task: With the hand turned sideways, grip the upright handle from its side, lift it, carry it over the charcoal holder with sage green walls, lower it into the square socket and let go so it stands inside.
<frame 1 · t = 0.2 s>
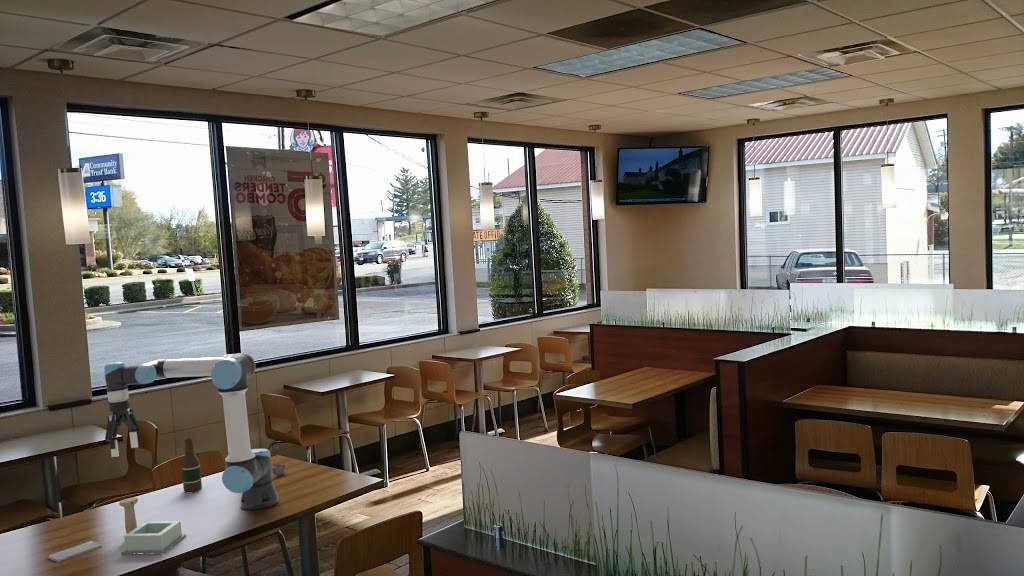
hand: (125, 452, 326), 28 cm above the table, tool pointing down, fingers open, 13 cm apart
beer bottle: (193, 490, 361), on the table
handle: (132, 539, 305), on the table
phone: (75, 554, 295), on the table
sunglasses: (264, 476, 379), on the table
holder: (154, 545, 297), on the table
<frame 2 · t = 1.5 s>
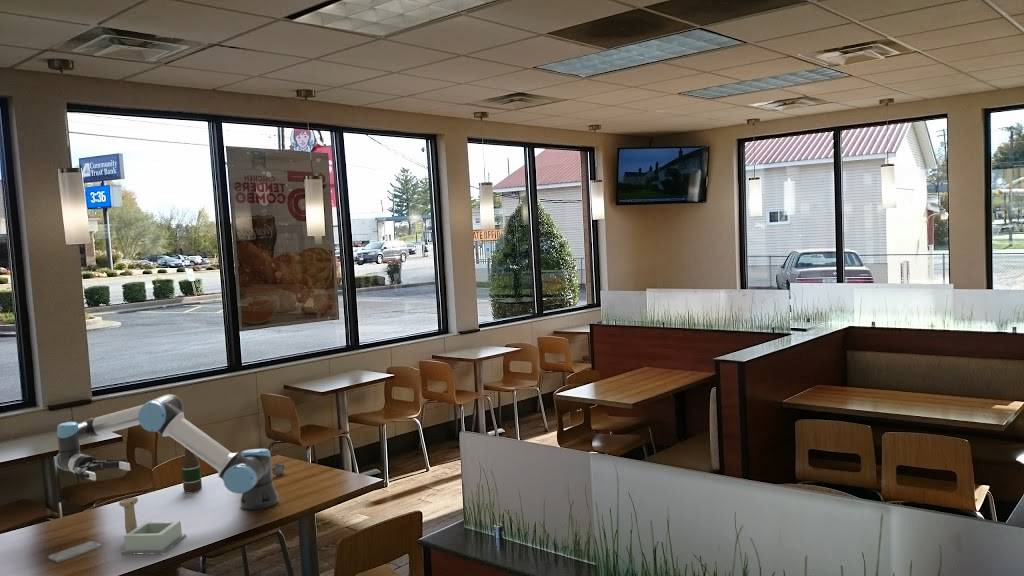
hand: (112, 471, 309), 25 cm above the table, tool horizontal, fingers open, 13 cm apart
nothing on the table moved.
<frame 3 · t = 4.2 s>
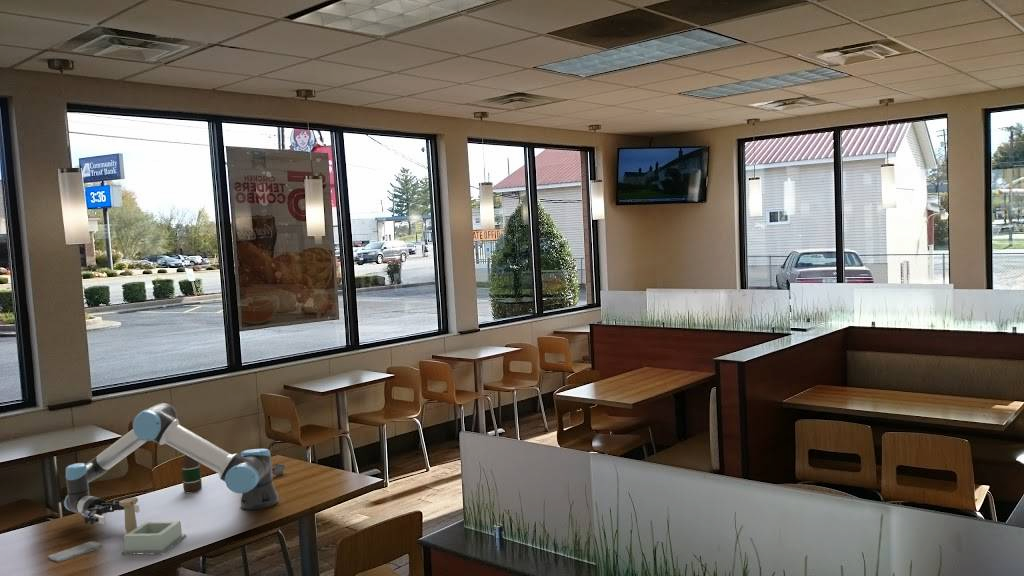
hand: (121, 514, 307), 9 cm above the table, tool horizontal, fingers open, 13 cm apart
nothing on the table moved.
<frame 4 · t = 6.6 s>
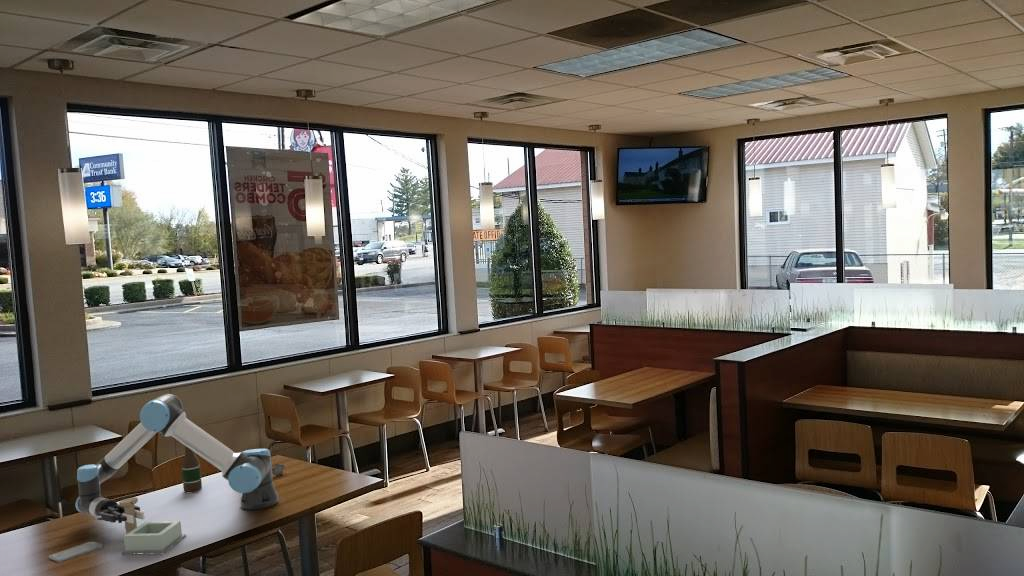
hand: (138, 517, 302), 9 cm above the table, tool horizontal, fingers closed on handle, 4 cm apart
handle: (132, 539, 305), on the table, touching gripper
everything else where it was.
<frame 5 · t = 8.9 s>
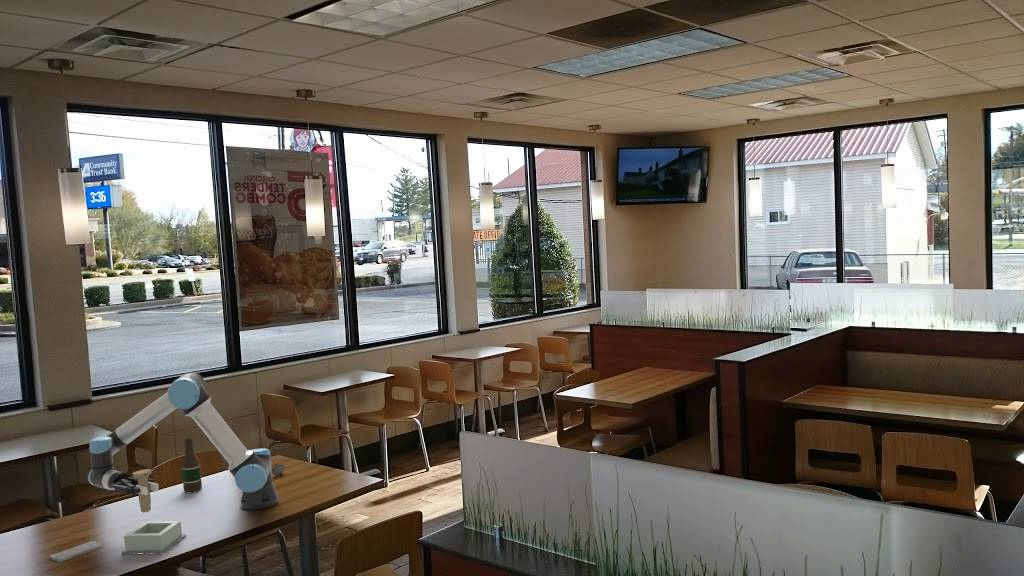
hand: (152, 489, 293), 22 cm above the table, tool horizontal, fingers closed on handle, 4 cm apart
handle: (146, 511, 297), point 12 cm above the table, touching gripper
everything else where it was.
when the fingers open (12 cm above the table, at t = 11.3 s): handle drops 2 cm, resting on holder.
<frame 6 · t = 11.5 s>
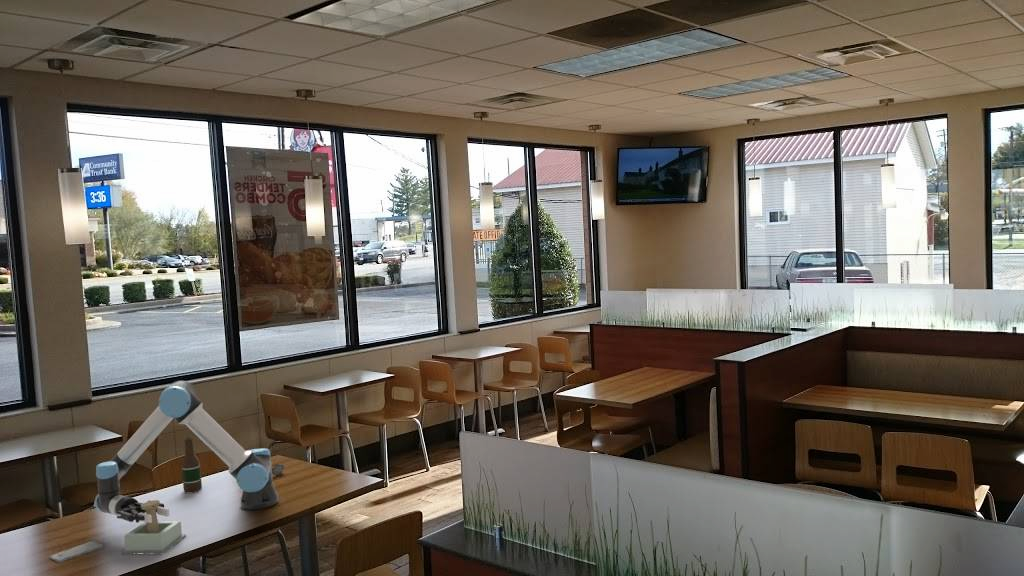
hand: (159, 515, 293), 12 cm above the table, tool horizontal, fingers open, 6 cm apart
handle: (154, 543, 297), point 1 cm above the table, touching holder
everything else where it was.
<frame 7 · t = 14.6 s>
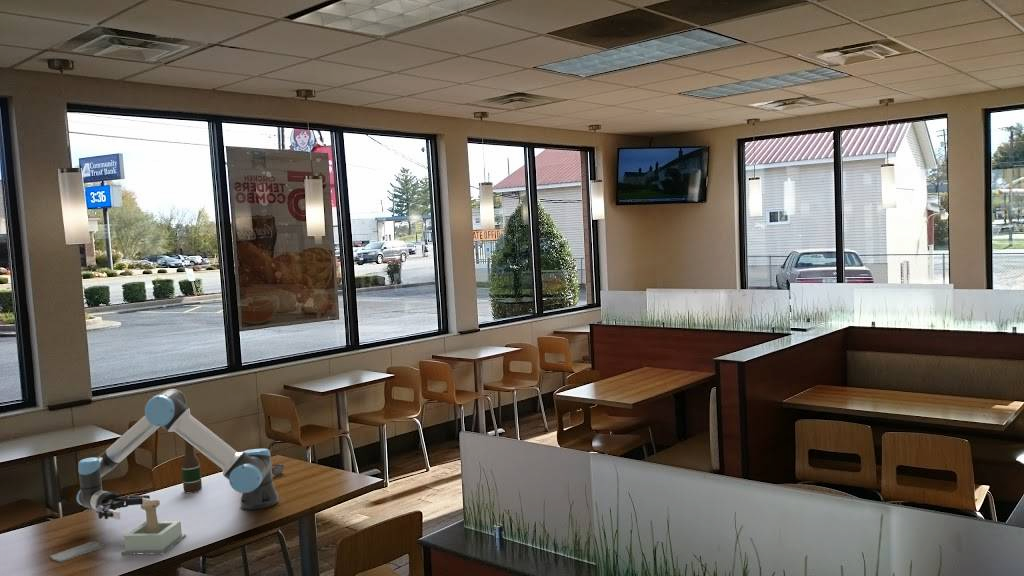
hand: (136, 509, 301), 12 cm above the table, tool horizontal, fingers open, 13 cm apart
nothing on the table moved.
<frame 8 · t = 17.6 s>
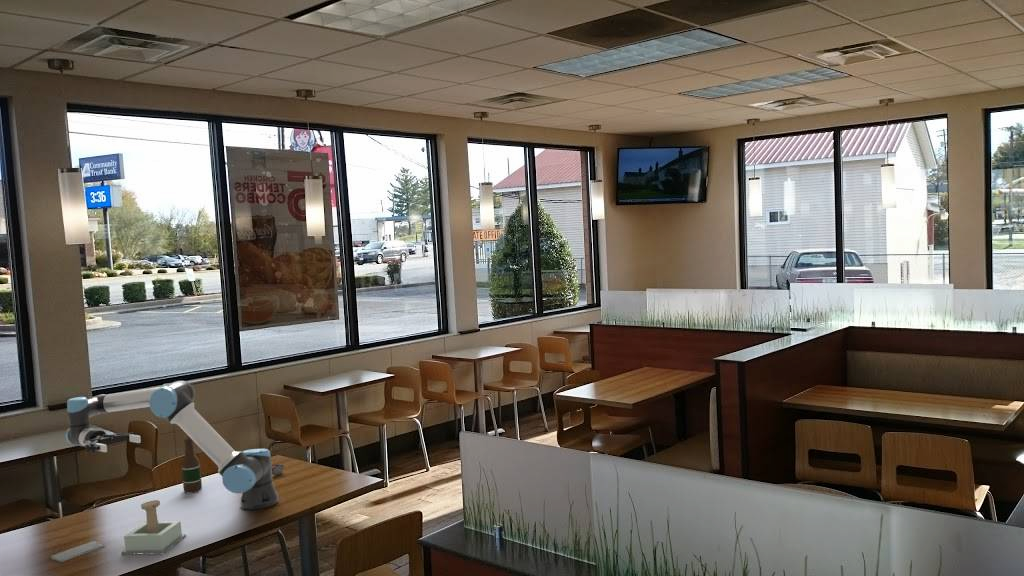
hand: (123, 444, 309), 35 cm above the table, tool horizontal, fingers open, 13 cm apart
at the end: handle inside the target area on the holder (0.1 cm from its centre), point 0.8 cm above the holder's base; handle tilted 0°; the gripper is holding nothing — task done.
